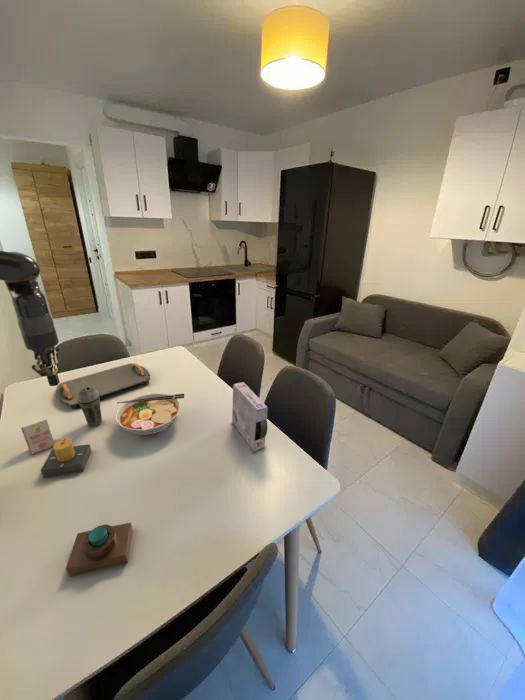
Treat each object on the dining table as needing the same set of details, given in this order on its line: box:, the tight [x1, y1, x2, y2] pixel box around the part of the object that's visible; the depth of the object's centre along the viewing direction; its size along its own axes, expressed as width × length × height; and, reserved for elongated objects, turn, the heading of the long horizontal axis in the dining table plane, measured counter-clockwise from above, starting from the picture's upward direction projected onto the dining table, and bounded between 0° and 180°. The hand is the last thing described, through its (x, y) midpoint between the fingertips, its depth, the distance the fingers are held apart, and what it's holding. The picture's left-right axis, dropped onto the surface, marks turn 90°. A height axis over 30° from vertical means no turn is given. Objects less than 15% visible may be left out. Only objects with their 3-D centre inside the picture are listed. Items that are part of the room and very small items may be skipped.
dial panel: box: [40, 443, 92, 478], centre depth 92 cm, size 11×9×3 cm
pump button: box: [89, 525, 108, 547], centre depth 66 cm, size 4×4×2 cm
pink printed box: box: [20, 419, 56, 456], centre depth 97 cm, size 4×7×10 cm, turn 132°
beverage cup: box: [77, 379, 103, 428], centre depth 107 cm, size 7×7×20 cm
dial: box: [52, 438, 75, 462], centre depth 91 cm, size 5×5×5 cm
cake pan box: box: [231, 381, 269, 452], centre depth 104 cm, size 19×5×18 cm, turn 31°
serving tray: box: [55, 363, 151, 410], centre depth 134 cm, size 39×23×6 cm, turn 133°
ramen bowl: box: [115, 393, 185, 436], centre depth 109 cm, size 25×23×8 cm
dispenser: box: [65, 522, 134, 578], centre depth 68 cm, size 12×8×5 cm, turn 104°
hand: (55, 384), depth 86 cm, fingers closed
